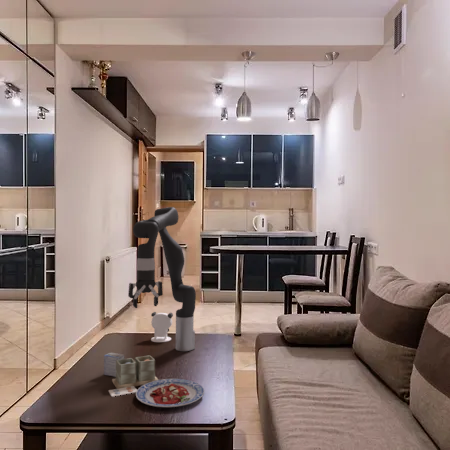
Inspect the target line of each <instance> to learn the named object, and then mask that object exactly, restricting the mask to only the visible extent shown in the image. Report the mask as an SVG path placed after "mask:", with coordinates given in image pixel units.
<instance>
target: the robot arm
mask: <svg viewBox="0 0 450 450" xmlns="http://www.w3.org/2000/svg"><path fill="white" fill-rule="evenodd" d="M153 215H154V216H152V217H150V218H148V219H144V220H139V221H137V222H136V223H135V224H134V225H133V227H132V232H133V234H134V236H135V237H136V238H138V239H148V241H147V242H145V243H140V244H138V246H137V260H136V283H132V282H129V283H128V298H130V299H132V306H133V308H135V309H137V308H138V298H139V296H140V295H141V294H145V293H151V294H152V295H153V307H157V306H158V305H159V297H161V296H163V282H162V281H159V280H158V281H155V280H156V278H155V277H156V276H155V275H156V273H155V272H156V261H155V249H156V248H155V246H156V243H157V238H158V236H159V237H160V240H161V243H162V248H163V253H164V258H165V262H166V265H167V269H168V274H169V278H170V279H169V280H170V285H171V292H172V296H173V299H174V301H176V302H178V303H182V304H181V305H182V306H181V308H178V309H177V310H175V351H177V352H178V351H179V352H188V351H189V352H190V351H192V350H196V349H195V348H196V344H195V343H196V331H195V329H194V322H195V321H194V314H195V311H196V299H197V297H196V296H197V292H196V289H195V287H194V286H193V285H188V284H184V282H183V278H182V274H183V269H184V265H185V256H184V251H183V248H182V246H181V245H180V244H179V243H178V241H176V240H175V239H174V238H173V237H172V236H171V235H170V233H169V231H168V229H167V227H169V226H170V227H171V226H174V225H177V223H179V213H178V210H177V209H176V208H175V207H174V206H167V207H161V208H156V209H155V211H154V213H153ZM135 287H136V288H137V289H136V290H135V292H134V289H135ZM155 287H156V288H157V291H156V289H154V288H155Z"/></svg>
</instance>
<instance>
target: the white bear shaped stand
mask: <svg viewBox="0 0 450 450" xmlns="http://www.w3.org/2000/svg"><path fill="white" fill-rule="evenodd" d="M151 317H152V318H151V322H150V323H151V326H152V328H153V329H154V333H153V336H154V337H151V339H150V341H151V342H154V343H167V342H170V341H172V337H170V336H168V333H169V332H170V328H171V326H172V325H173V318H172V317H174V314H173V313H172V312H169V313H167V312H156V311H153V312H152V313H151Z"/></svg>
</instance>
